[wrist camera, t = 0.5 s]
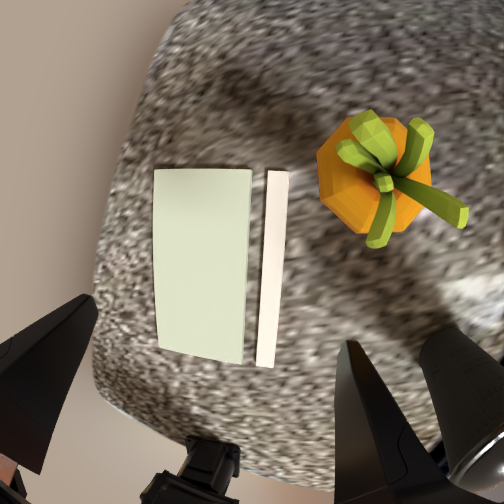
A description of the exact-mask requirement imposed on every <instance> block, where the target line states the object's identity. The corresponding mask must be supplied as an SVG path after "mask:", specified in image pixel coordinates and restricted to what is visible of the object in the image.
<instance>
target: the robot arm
mask: <svg viewBox="0 0 504 504" xmlns="http://www.w3.org/2000/svg"><path fill="white" fill-rule="evenodd" d="M97 318H98V309H97V306H96V303H95V301H94V298H93V297H92V296H91V295H88V294H81V295H79V296H78V297H76V298H74V299H72V300H71V301H69V302H67V303H66V304H64V305H62V306H61V307H59V308H57V309H56V310H54V311H52V312H51V313H49V314H47V315H46V316H44V317H43V318H41V319H39V320H38V321H36V322H34V323H33V324H31V325H30V326H28V327H26V328H25V329H23V330H22V331H20V332H19V333H17V334H15V335H14V336H13V337H11V338H9V339H8V340H6V341H5V342H3V343H1V344H0V504H31V503H30V502H28V501H27V500H26V496H27V492H26V490H25V487H24V484H23V481H22V478H21V475H20V471H19V470H18V469H17V466H18V464H19V465H21V466H23V467H25V468H27V469H29V470H30V471H32V472H34V473H36V474H38V475H40V473H41V470H42V466H43V463H44V459H45V456H46V453H47V450H48V447H49V443H50V440H51V437H52V434H53V431H54V428H55V425H56V422H57V420H58V417H59V414H60V412H61V409H62V406H63V404H64V401H65V399H66V396H67V394H68V391H69V388H70V386H71V384H72V381H73V379H74V376H75V374H76V372H77V369H78V367H79V365H80V363H81V360H82V358H83V356H84V354H85V351H86V349H87V346H88V344H89V341H90V338H91V335H92V332H93V329H94V327H95V324H96V321H97ZM334 411H335V493H334V504H504V502H502V503H496V502H493V501H491V500H488V499H486V498H483V497H481V496H478V495H476V494H474V493H472V492H469V491H467V490H465V489H463V488H460V487H458V486H456V485H455V484H453V483H452V482H451V481H450V480H449V479H448V478H447V477H446V476H445V475H444V474H443V472H442V471H441V469H440V468H439V467H438V465H437V464H436V463H435V461H434V460H433V459H432V457H431V456H430V455H429V453H428V452H427V451H426V449H425V448H424V446H423V445H422V443H421V442H420V441H419V439H418V437H417V436H416V434H415V433H414V431H413V429H412V428H411V426H410V424H409V423H408V422H406V421H407V419H406V418H405V416H404V414H403V413H402V411H401V409H400V408H399V406H398V404H397V403H396V401H395V399H394V398H393V396H392V395H391V393H390V391H389V390H388V388H387V386H386V385H385V383H384V382H383V380H382V378H381V377H380V375H379V374H378V372H377V370H376V369H375V367H374V366H373V364H372V362H371V361H370V359H369V358H368V356H367V355H366V353H365V351H364V350H363V348H362V347H361V345H360V344H359V342H358V341H356V340H345V342H344V343H343V345H342V348H341V350H340V352H339V354H338V357H337V369H336V384H335V397H334ZM185 442H186V448H187V454H188V456H187V458H186V459H185V461H184V463H183V465H182V467H181V468H180V470H179V472H178V474H177V476H176V475H173V474H171V473H169V471H167V470H164V471H163V473H156V475H155V476H154V478H153V480H152V481H151V483H150V484H149V485H148V486H147V487H146V488H145V490H144V491H143V492H142V493H141V495H140V499H141V502H142V503H141V504H239V500H237V499H232V498H229V497H226V496H225V493H226V491H227V488H228V486H229V483H230V480H231V478H232V477H235V478H237V477H239V473H240V453H241V450H240V448H238V447H235V446H230V445H225V444H221V443H216V442H212V441H208V440H204V439H200V438H197V437H193V436H189V435H188V436H186V438H185Z"/></svg>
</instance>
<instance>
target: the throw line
mask: <svg viewBox="0 0 504 504" xmlns="http://www.w3.org/2000/svg"><path fill="white" fill-rule="evenodd" d="M288 188H289V172H286V171H268V184H267V202H266V219H265V236H264V253H263V269H262V284H261V300H260V315H259V329H258V343H257V357H256V366H262V367H269V368H273V367H274V359H275V349H276V340H277V329H278V319H279V308H280V297H281V286H282V274H283V261H284V248H285V235H286V220H287V205H288Z"/></svg>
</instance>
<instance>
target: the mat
mask: <svg viewBox="0 0 504 504" xmlns="http://www.w3.org/2000/svg"><path fill="white" fill-rule="evenodd" d="M251 187H252V170H247V169H157V170H154V193H153V266H154V290H155V307H156V321H157V333H158V344H159V347H160V348H164V349H168V350H172V351H176V352H180V353H185V354H189V355H194V356H199V357H203V358H208V359H213V360H219V361H224V362H229V363H235V364H242V362H243V347H244V326H245V305H246V285H247V265H248V245H249V226H250V206H251Z"/></svg>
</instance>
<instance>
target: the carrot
mask: <svg viewBox="0 0 504 504" xmlns="http://www.w3.org/2000/svg"><path fill="white" fill-rule="evenodd" d="M433 137H434V131H433V129H432V128H431V127H430V126H429V124H428V123H427V122H425V121H424V120H422V119H421V118H419V117H418V118H413V119H412V120H411V122H410V123H409V125H408V130H407V129H406V128H405V127H404V126H403V125H402V124H401V123H400V122H399V121H398V120H397V119H396V118H390V117H378V116H377V115H376V114H375V113H374V112H373V111H372V110H371V109H370V110H367V111H365V112H362V113H359V114H357V115H356V116H355V117H347V118H346V119H345V120H344V122H343V123H342V124H341V125H340V126H339V127H338V128H337V129H336V131H335V132H334V133H333V134H332V135H331V136H330V137H329V138H328V140H327V141H326V142H325V143H324V144H323V145H322V146H321V148H320V149H319V150H318V151H317V152H316V157H317V168H318V179H319V192H320V201H321V202H322V203H323V204H325V205H326V206H327V207H328V208H329V209H330V210H331V211H332V212H333V213H334V214H335V215H337V216H338V217H339V218H340V219H341V220H342V221H343V222H344V223H345V224H346V225H347V226H348V227H349V228H350V229H351V230H353V231H354V232H355V233H357V234H358V233H368V235H367V238H366V241H365V242H366V244H367V247H369V248H371V249H376V248H381V247H384V246H386V245H387V242H388V240H389V238H390V236H391V233H392V232H403V231H404V230H405V229H406V228H407V226H408V225H409V224H410V223H411V222H412V220H413V219H414V218H415V217H416V216H417V214H418V213H419V212H420V211H421V210H422V208H423V207H426V208H427V209H429V210H430V211H432V212H433V213H435V214H436V215H438V216H439V217H441V218H442V219H443V220H445V221H446V222H448V223H450V224H451V225H453V226H455V227H457V228H463V227H465V226H466V223H467V220H468V214H469V207H468V206H467V205H465V204H464V203H463V202H462V201H460V200H459V199H457V198H455V197H453V196H451V195H450V194H448V193H446V192H443V191H441V190H438V189H436V188H433V187H431V174H430V163H429V150H430V148H431V145H432V142H433Z"/></svg>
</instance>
